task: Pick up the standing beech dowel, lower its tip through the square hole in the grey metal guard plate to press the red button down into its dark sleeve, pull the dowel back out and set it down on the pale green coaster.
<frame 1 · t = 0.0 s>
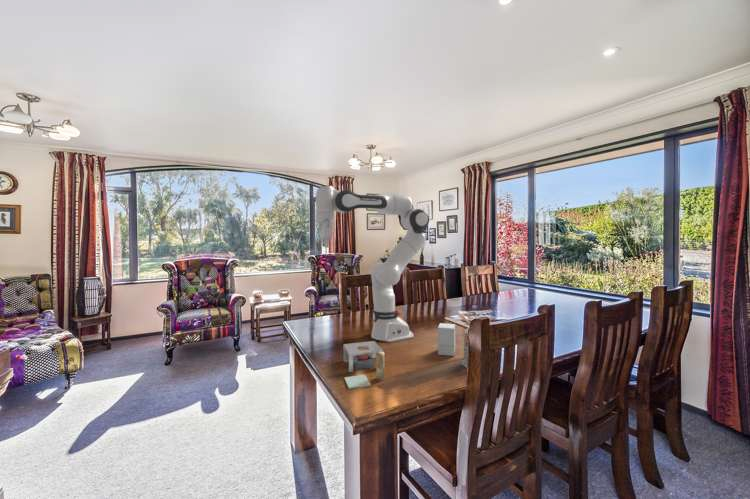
hand: (325, 247, 157), 48 cm above the table, fingers open, 8 cm apart
button: (363, 356, 132), point 4 cm above the table, slide at 0.0 cm
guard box: (363, 365, 132), on the table
supplement box: (446, 353, 146), on the table
dowel: (380, 378, 120), on the table
coaster: (357, 382, 117), on the table
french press: (471, 364, 133), on the table
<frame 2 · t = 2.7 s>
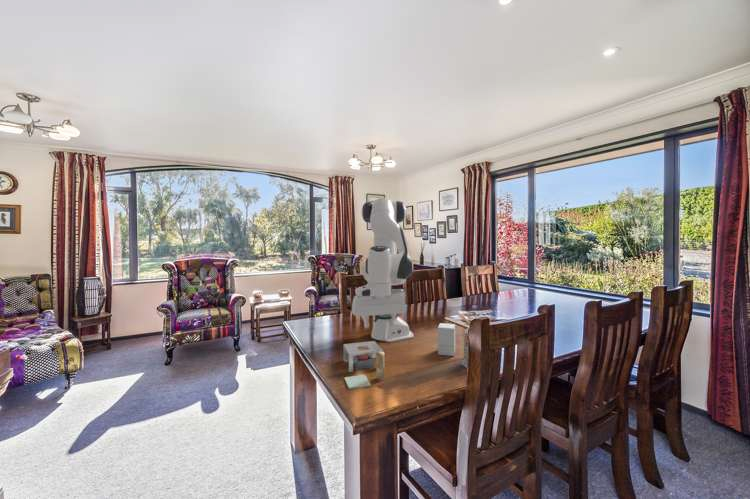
hand: (379, 326, 119), 20 cm above the table, fingers open, 8 cm apart
nothing on the table moved.
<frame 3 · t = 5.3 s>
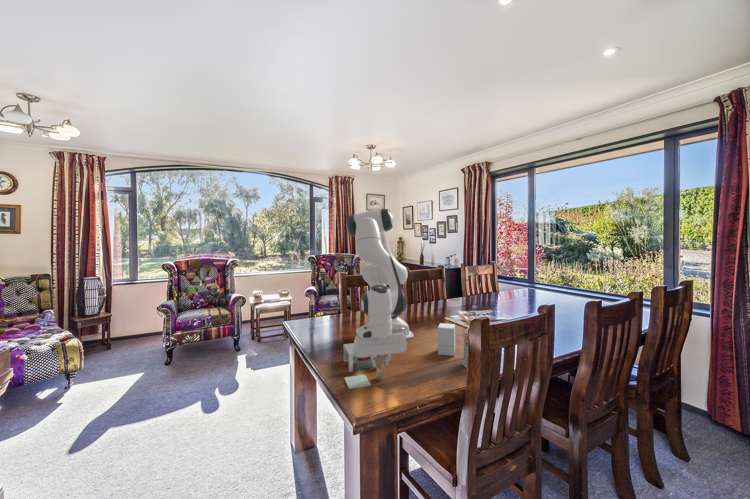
hand: (380, 365, 119), 5 cm above the table, fingers closed on dowel, 3 cm apart
dowel: (380, 378, 120), on the table, touching gripper
everything else where it was.
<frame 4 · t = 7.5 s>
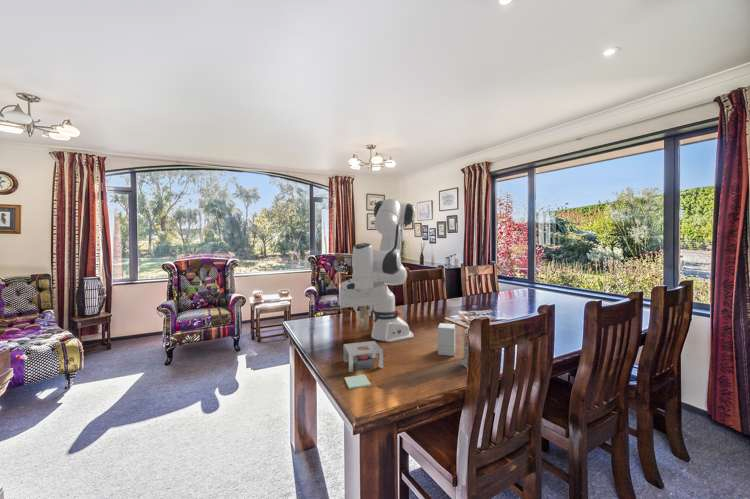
hand: (363, 316, 131), 21 cm above the table, fingers closed on dowel, 3 cm apart
dowel: (363, 328, 131), point 15 cm above the table, touching gripper
everything else where it was.
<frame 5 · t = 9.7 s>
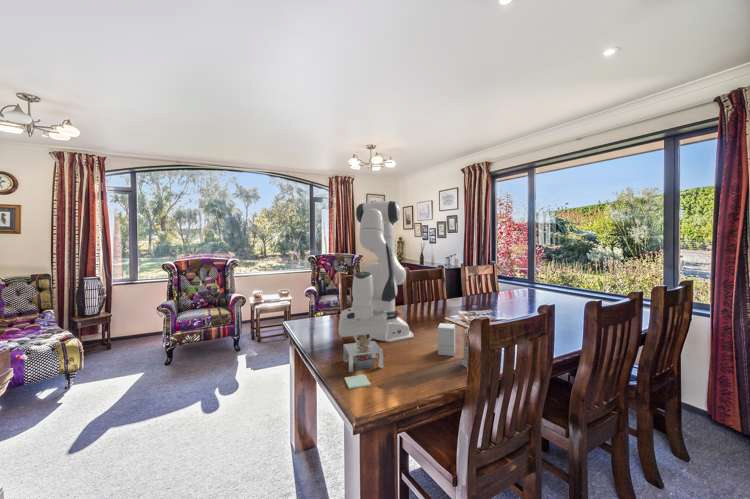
hand: (363, 344, 132), 9 cm above the table, fingers closed on dowel, 3 cm apart
button: (363, 360, 132), point 2 cm above the table, slide at 1.7 cm, touching dowel
dowel: (363, 356, 132), point 4 cm above the table, touching button, gripper
everything else where it was.
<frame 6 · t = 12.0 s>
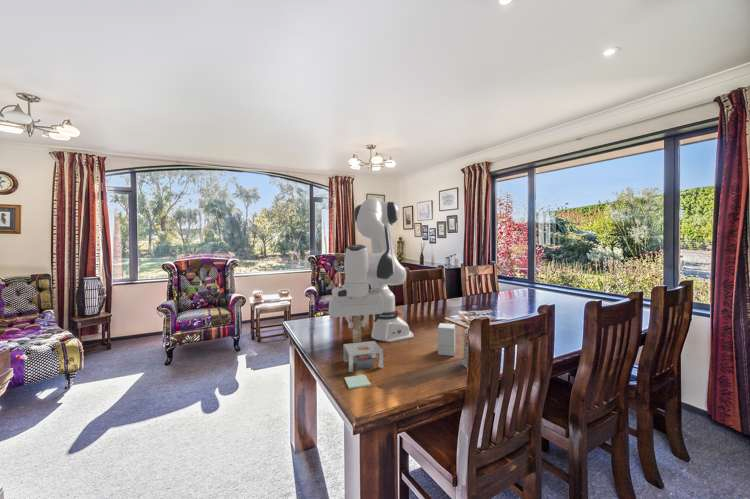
hand: (356, 327, 116), 21 cm above the table, fingers closed on dowel, 3 cm apart
button: (363, 360, 132), point 2 cm above the table, slide at 1.7 cm
dowel: (356, 341, 116), point 15 cm above the table, touching gripper
everything else where it was.
when the fingers open (7 cm above the table, at t = 14.1 s): dowel drops 1 cm, resting on coaster.
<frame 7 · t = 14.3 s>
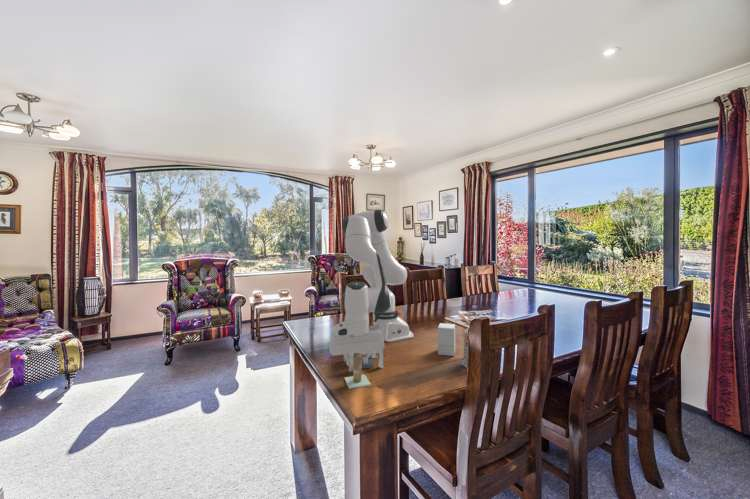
hand: (357, 363, 117), 7 cm above the table, fingers open, 5 cm apart
dowel: (357, 380, 117), point 1 cm above the table, touching coaster
everything else where it was.
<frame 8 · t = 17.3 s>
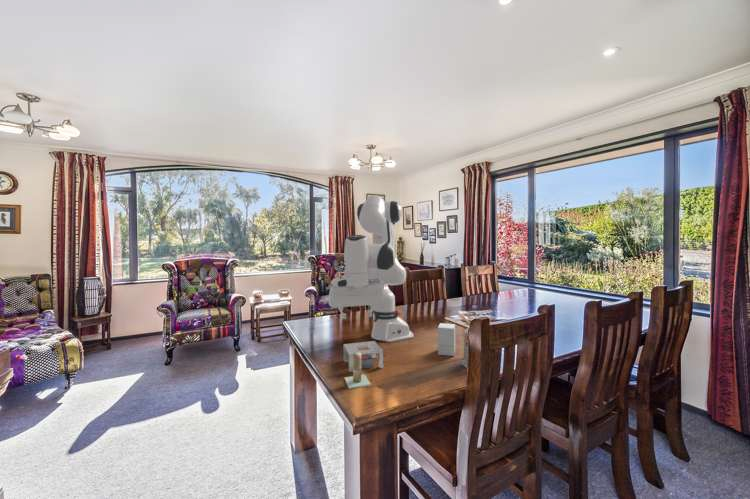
hand: (356, 317, 116), 24 cm above the table, fingers open, 8 cm apart
nothing on the table moved.
at the end: button slide at 1.7 cm; dowel 0.0 cm from the coaster (horizontally); the gripper is holding nothing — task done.
